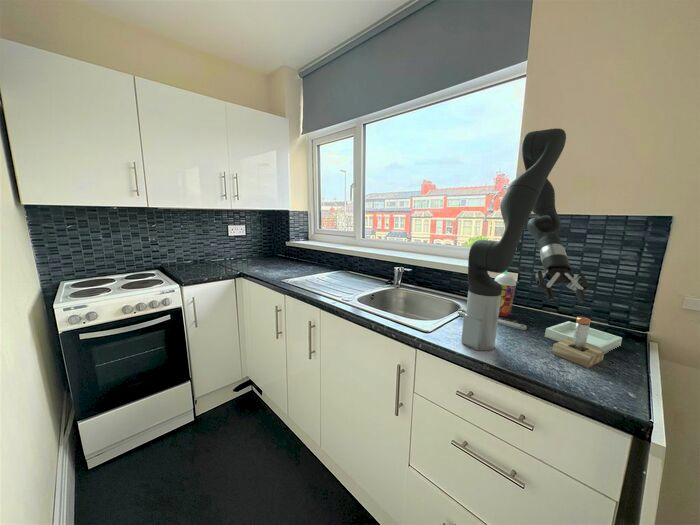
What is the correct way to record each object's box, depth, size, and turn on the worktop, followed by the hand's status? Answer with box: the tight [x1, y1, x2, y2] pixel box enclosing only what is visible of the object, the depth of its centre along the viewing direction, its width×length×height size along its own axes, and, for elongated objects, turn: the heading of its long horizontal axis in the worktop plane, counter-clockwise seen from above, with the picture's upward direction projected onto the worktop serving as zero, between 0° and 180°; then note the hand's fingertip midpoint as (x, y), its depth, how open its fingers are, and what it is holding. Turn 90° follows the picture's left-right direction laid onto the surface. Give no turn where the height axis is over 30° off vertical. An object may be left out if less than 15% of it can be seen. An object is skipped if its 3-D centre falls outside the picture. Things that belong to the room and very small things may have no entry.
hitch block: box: [551, 338, 605, 369], centre depth 83 cm, size 9×9×3 cm
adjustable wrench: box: [457, 308, 528, 331], centre depth 109 cm, size 25×6×2 cm, turn 45°
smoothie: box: [494, 269, 517, 317], centre depth 115 cm, size 8×8×20 cm
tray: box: [544, 320, 623, 355], centre depth 93 cm, size 15×15×3 cm
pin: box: [572, 316, 591, 352], centre depth 82 cm, size 3×3×12 cm
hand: (566, 300), depth 90 cm, fingers open, 8 cm apart
